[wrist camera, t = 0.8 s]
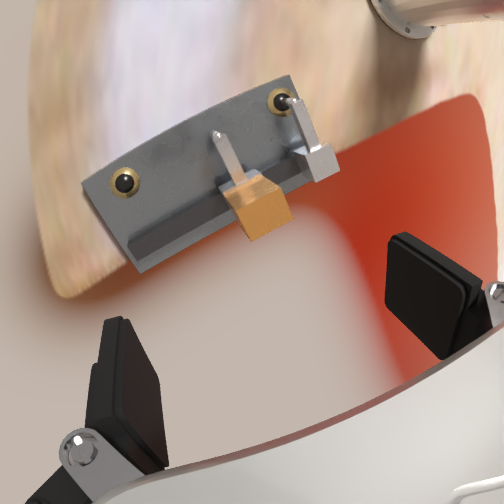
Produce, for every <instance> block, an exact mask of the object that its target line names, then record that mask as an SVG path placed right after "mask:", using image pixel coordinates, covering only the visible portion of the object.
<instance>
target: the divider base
mask: <svg viewBox="0 0 504 504" xmlns="http://www.w3.org/2000/svg"><path fill="white" fill-rule="evenodd" d="M211 131H217V132H220V133H222V134H223V133H224V134H226V136H227V138H228V140H229V142H230V144H231V146H232V148H233V150H234V152H235V155H236V157H237V159H238V161H239V163H240V165H241V167H242V169H243V171H244V173H246V172H248V171H250V170H252V169H256V170H257V171H259V172H261V173H262V176H264V177H265V178H267V179H269V180H270V181H272V182H273V183H275V184H276V185H278V186H279V187H281V189H282V192H283V194H284V195H285V194H287V193H289V192H291V191H293V190H294V189H297V188H298V187H300V186H302V185H304V184H306V183H308V182H310V181H313V182H315V183H316V182H318V181H320V180H322V179H324V178H326V177H328V176H330V175H332V174H334V173H336V172H338V171H340V168H339V165H338V163H337V159H336V157H335V154H334V151H333V148H332V145H331V143H327V142H323V141H319V140H318V137H317V134H316V132H315V129H314V127H313V124H312V121H311V119H310V116H309V114H308V111H307V109H306V106H305V104H304V101H303V99H301V100H300V99H299V96H298V94H297V92H296V89H295V87H294V85H293V82H292V80H291V78H290V75H286V76H282V77H280V78H277V79H275V80H272V81H270V82H267V83H265V84H262V85H260V86H257V87H255V88H253V89H250V90H248V91H246V92H243V93H241V94H239V95H237V96H234V97H232V98H230V99H228V100H225V101H223V102H221V103H219V104H217V105H215V106H213V107H211V108H208V109H206V110H204V111H202V112H200V113H198V114H196V115H194V116H192V117H190V118H188V119H186V120H184V121H183V122H181V123H179V124H177V125H175V126H173V127H171V128H169V129H167V130H166V131H164V132H162V133H160V134H158V135H157V136H155V137H153V138H151V139H149V140H148V141H146V142H144V143H142V144H141V145H139V146H137V147H136V148H134V149H132V150H131V151H129V152H127V153H126V154H124V155H122V156H121V157H119V158H117V159H116V160H114V161H113V162H111V163H109V164H108V165H106V166H105V167H103V168H102V169H100V170H99V171H97V172H96V173H94V174H93V175H91V176H90V177H88V178H87V179H85V180H84V181H83V182H82V183H81V184H82V186H83V188H84V189H85V191H86V193H87V194H88V196H89V198H90V199H91V201H92V202H93V204H94V206H95V207H96V209H97V210H98V212H99V214H100V215H101V217H102V218H103V220H104V221H105V223H106V224H107V226H108V227H109V229H110V231H111V232H112V234H113V235H114V237H115V238H116V240H117V241H118V243H119V244H120V245H121V247H122V248H123V250H124V251H125V253H126V254H127V256H128V257H129V259H130V260H131V261H132V263H133V264H134V266H135V267H136V268H137V270H138V271H139V273H140V274H141V273H143V272H144V271H146V270H148V269H150V268H151V267H153V266H155V265H157V264H158V263H160V262H162V261H164V260H166V259H167V258H169V257H171V256H173V255H174V254H176V253H178V252H180V251H181V250H183V249H185V248H186V247H189V246H190V245H192V244H194V243H196V242H198V241H199V240H201V239H203V238H205V237H207V236H208V235H210V234H212V233H214V232H216V231H218V230H219V229H221V228H223V227H225V226H227V225H229V224H231V223H232V222H234V221H236V220H235V219H234V217H233V215H232V213H231V211H230V209H229V207H228V205H227V203H226V202H225V200H224V198H223V196H222V194H221V192H220V190H219V188H218V187H219V186H221V185H223V184H225V183H227V182H229V181H231V180H232V179H231V177H230V175H229V173H228V171H227V169H226V167H225V165H224V163H223V161H222V159H221V157H220V155H219V153H218V151H217V149H216V147H215V145H214V143H213V141H212V138H211V137H210V132H211Z"/></svg>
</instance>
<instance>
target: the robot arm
mask: <svg viewBox="0 0 504 504" xmlns="http://www.w3.org/2000/svg"><path fill="white" fill-rule="evenodd" d="M371 2H372V4H373V6H374V8H375V10H376V11H377V13H378V14H379V16H380V17H381V18H382V20H383V21H384V22H385V23H386V24H387V25H388V26H389V27H390V28H392V29H393V30H394V31H395V32H397V33H399V34H400V35H402V36H405V37H407V38H412V39H420V38H425V37H428V36H429V35H431V34H432V33H433V32H434V30H435V28H436V27H437V25H446V24H455V23H466V22H481V21H504V0H371ZM482 282H483V281H482V280H481V279H480V278H478V277H477V276H475V275H474V274H472V273H471V272H469V271H468V270H466V269H465V268H463V267H462V266H460V265H459V264H457V263H456V262H454V261H453V260H451V259H449V258H448V257H446V256H445V255H443V254H442V253H440V252H439V251H437V250H435V249H434V248H432V247H431V246H429V245H427V244H426V243H424V242H422V241H421V240H419V239H417V238H416V237H414V236H413V235H411V234H409V233H407V232H402V233H399V234H396V235H393V236H392V237H391V239H390V241H389V242H388V253H387V272H386V287H385V304H386V307H387V308H388V309H389V310H390V311H391V312H392V313H393V314H394V315H395V316H396V317H397V318H398V319H399V320H400V321H401V322H402V323H403V324H404V325H405V326H406V327H407V328H408V329H409V330H410V331H411V332H413V333H414V334H415V335H416V336H417V337H418V338H419V339H420V340H421V341H422V342H423V343H424V344H425V345H426V346H427V347H428V348H429V349H430V350H431V351H432V352H433V353H434V354H435V356H436V357H438V359H440V360H443V361H442V362H440V363H438V364H437V365H435V366H434V367H432V368H430V369H428V370H427V371H425V372H423V373H421V374H420V375H418V376H416V377H414V378H413V379H411V380H409V381H407V382H405V383H403V384H402V385H400V386H398V387H396V388H394V389H392V390H390V391H388V392H386V393H384V394H382V395H380V396H378V397H376V398H374V399H372V400H370V401H368V402H366V403H364V404H362V405H360V406H357V407H355V408H353V409H351V410H349V411H346V412H344V413H342V414H339V415H337V416H335V417H332V418H330V419H328V420H325V421H323V422H321V423H318V424H315V425H313V426H310V427H308V428H305V429H303V430H300V431H298V432H295V433H292V434H289V435H286V436H283V437H281V438H278V439H275V440H272V441H269V442H266V443H263V444H260V445H257V446H253V447H250V448H247V449H243V450H240V451H237V452H233V453H230V454H226V455H223V456H219V457H215V458H211V459H208V460H204V461H200V462H195V463H191V464H187V465H183V466H180V467H176V468H171V469H167V470H165V469H164V467H168V466H169V460H168V454H167V445H166V438H165V430H164V421H163V412H162V403H161V392H160V383H159V379H158V376H157V374H156V372H155V370H154V368H153V366H152V364H151V362H150V361H149V359H148V357H147V355H146V353H145V351H144V349H143V347H142V345H141V343H140V341H139V339H138V337H137V335H136V333H135V331H134V329H133V327H132V324H131V322H130V320H129V319H123V317H122V316H118V317H114V318H110V319H106V320H105V321H104V325H103V331H102V337H101V343H100V349H99V357H98V363H94V364H93V366H92V369H91V376H90V384H89V392H88V400H87V409H86V419H85V428H80V429H77V430H74V431H72V432H71V433H69V434H68V435H67V436H66V437H65V438H64V440H63V441H62V443H61V445H60V449H59V458H60V461H61V463H62V466H61V467H60V468H59V469H58V470H57V471H56V472H55V473H54V474H53V475H52V476H51V477H50V478H49V479H48V480H47V481H46V482H45V483H44V484H43V485H42V486H41V487H40V488H39V489H38V490H37V491H36V492H35V493H34V494H33V495H32V496H31V497H30V498H29V499H28V500H27V501H26V503H25V504H504V282H499V281H497V282H491V283H489V284H487V285H486V287H485V290H484V291H483V290H482V289H481V285H482Z"/></svg>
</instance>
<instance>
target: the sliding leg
mask: <svg viewBox="0 0 504 504" xmlns="http://www.w3.org/2000/svg"><path fill="white" fill-rule="evenodd" d="M210 137H211V138H212V141H213V143H214V145H215V147H216V149H217V151H218V153H219V155H220V157H221V159H222V161H223V163H224V165H225V167H226V169H227V171H228V173H229V175H230V177H231V179H232V180H231V181H229V182H227V183H225V184H223V185H221V186H219V187H218V188H219V190H220V192H221V194H222V196H223V198H224V200H225V202H226V203H227V205H228V207H229V209H230V211H231V213H232V215H233V217H234V219H235V220H236V221H237V223H238V224H239V225H240V226H241V228H242V229H243V231H244V232H245V233H246V235H247V236H248V238H249V239H250V241H251V242H252V241H254V240H256V239H257V238H259V237H261V236H263V235H265V234H267V233H269V232H270V231H272V230H274V229H276V228H278V227H279V226H281V225H283V224H285V223H287V222H289V221H291V220H293V219H294V218H293V216H292V213H291V211H290V208H289V206H288V204H287V201H286V199H285V196H284V194H283V192H282V189H281V187H279V186H278V185H276V184H275V183H273V182H272V181H270V180H269V179H267V178H265V177H264V176H262V173H261V172H259V171H257V170H256V169H252V170H250V171H248V172H246V173H244V171H243V169H242V167H241V165H240V163H239V161H238V159H237V157H236V155H235V152H234V150H233V148H232V146H231V144H230V142H229V140H228V138H227V136H226V134H224V133H223V134H222V133H220V132H217V131H211V132H210Z"/></svg>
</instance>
